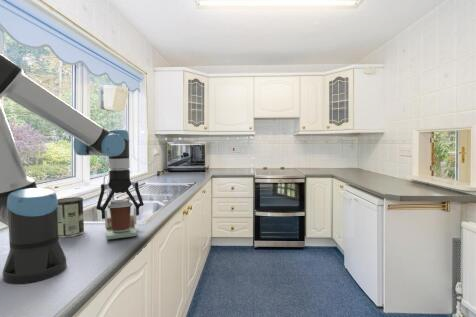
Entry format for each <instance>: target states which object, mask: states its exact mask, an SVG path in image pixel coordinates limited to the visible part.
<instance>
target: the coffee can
mask: <svg viewBox="0 0 476 317" xmlns="http://www.w3.org/2000/svg"><path fill="white" fill-rule="evenodd" d="M57 200H58V206H57V208H58V235H59V238H61V239H62V238H72V237H77V236H80V235H82V234H84V233H85V224H84V220H85V219H84V202H83V200H84V198H83V197H79V196H78V197H76V196H75V197H64V198H59V199H58V198H57Z"/></svg>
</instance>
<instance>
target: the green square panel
mask: <svg viewBox="0 0 476 317" xmlns="http://www.w3.org/2000/svg"><path fill="white" fill-rule="evenodd" d="M135 236H136V237H137V236H138V230H137V229H136V225H135V226H133V227H130V230H129V231H125V232H112V229H107V230H106V229H105V240H106V241H107V240H114V239H115V240H116V239H121V238H123V239H124V238H130V237H135Z"/></svg>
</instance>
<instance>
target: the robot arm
mask: <svg viewBox="0 0 476 317" xmlns="http://www.w3.org/2000/svg"><path fill="white" fill-rule="evenodd" d="M3 97H6V98H8V99H9V100H11V101H12V102H14V103H16V104H18V105H19V106H21V107H23V108H25V109H26V110H28V111H30V112H31V113H32V114H35V116H38V117H39V118H41V119H42V120H45V121H47V122H48V123H50V124H51V125H53V126H54V127H55V128H56V127H57V128H58V129H59V130H61V131H63V132H65V133H66V134H67V135H69V136H71V137H73V150H74V152H75V154H76V155H77V156H85V157H86V156H98V157H99V156H100V157H101V156H102V157H103V156H104V157H108V169H109V171H108V177H109V179H108V180H109V181H108V183H101V184H100V189H101V190H100V194H99V196H98V200H97V202H96V203H97V204H96V207H95V208H96V210H97V211H101V219H102V220H104V225H105V229H106V228H108V227H107V217H108V209H107V208H108V205H109V204H110V201H112V198H113V197H114V195H115V194H120V193H121V194H127V196H128V198H129V200H131V203H132V204H133V205H134V206H133V215H134V225H137V224H138V222H137V216H140V207H142V206H144V201H143V197H142V195H141V192H140V189H139V182H138V181H131V176H130V175H131V172H130V168H131V167H130V166H131V165H130V138H129V137H130V136H129V132H128V130H126V129H108V130H107V129H105V128H104V127H103V126H101V125H99V123H96V122H95V121H93V120H92V119H90V118H89V117H87V116H86V115H85V114H83V113H81V112H80V111H78V110H77V109H75V108H74V107H72V106H71V105H70V104H68V103H66V102H65V101H63V99H61V98H59V97H57V96H56V95H55V94H53V93H52V92H50V91H49V90H47V89H46V88H45V87H43V86H41V85H40V84H38V83H37V82H36V81H34V80H32V79H31V78H30V77H28V76H26V75H25V73H24V69H23V68H21V67H20V66H19V65H18V64H16V63H15V62H13V61H12V60H11V59H9V58H7V57H6V56H5V55H3V54H1V53H0V222H1V223H2V224H4V225H5V226H7V227H8V237H9V251H8V253H7V254H8V255H7V258H6V261H5V264H4V266H3V269H2V278H3V281H4V282H6V283H8V284H15V285H16V284H17V285H18V284H28V283H34V282H40V281H43V280H46V279H50V278H52V277H54V276H57V275H59V274H60V273H62V272H64V271H65V269H66V268H67V265H68V264H67V263H68V262H67V258H66V255H65V252H64V250H63V248H62V245H61V244H60V239H59V238H60V237H59V235H58V208H57V206H58V200H57V199H58V197H57V193H56V192H55V191H54V190H52V189H49V188H41V187H38V186H37V184H36V180H35V179H33V178H32V177H29V176H28V175H27V173H26V172H27V171H26V170H25V167H24V165H23V160H22V159H21V155H20V152H19V150H18V147H17V144H16V142H15V138H14V135H13V133H12V130H11V127H10V124H9V122H8V119H7V117H6V113H5V111H4V107H3V105H2V103H1V100H2V98H3ZM131 186H132V187H133V188H134V190H135V193H136V196H137V198H138V202H137V200H136V199H135V197H134V195H133V194H132V192H130V190H129V189H130V187H131ZM107 188H109V189H110V192H109V194H108V196H107V198H106V199H105V201H104V202H103V199H104V194H105V190H107ZM102 202H103V204H102ZM101 205H102V206H101Z"/></svg>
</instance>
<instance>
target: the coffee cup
mask: <svg viewBox="0 0 476 317" xmlns="http://www.w3.org/2000/svg"><path fill="white" fill-rule="evenodd" d="M132 206H133V202H132V201H130V198H129V199H126V198H123V199H114V200H110V202H109V204H108V205H107V209H109V214H110V217H111V223H112V232H125V231H129V230H130V215H131V211H132V210H131V208H132Z"/></svg>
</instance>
